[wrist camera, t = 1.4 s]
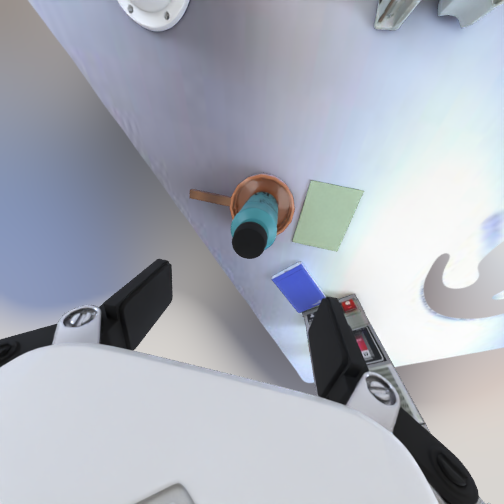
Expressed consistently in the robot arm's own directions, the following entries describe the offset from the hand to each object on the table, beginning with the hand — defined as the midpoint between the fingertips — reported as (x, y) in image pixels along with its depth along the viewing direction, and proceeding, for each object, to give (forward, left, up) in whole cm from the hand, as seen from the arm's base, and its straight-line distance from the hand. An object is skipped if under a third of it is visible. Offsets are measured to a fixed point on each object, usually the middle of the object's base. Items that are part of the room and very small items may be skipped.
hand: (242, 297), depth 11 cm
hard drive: (+12, -19, -30) cm, 38 cm away
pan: (-1, -1, -30) cm, 30 cm away
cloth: (+12, -1, -30) cm, 33 cm away
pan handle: (-11, -1, -28) cm, 30 cm away
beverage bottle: (-1, -1, -30) cm, 30 cm away
